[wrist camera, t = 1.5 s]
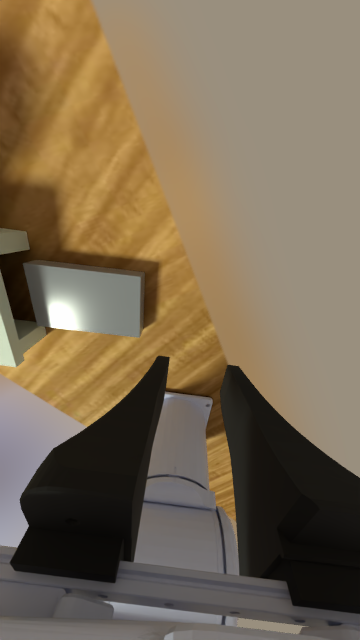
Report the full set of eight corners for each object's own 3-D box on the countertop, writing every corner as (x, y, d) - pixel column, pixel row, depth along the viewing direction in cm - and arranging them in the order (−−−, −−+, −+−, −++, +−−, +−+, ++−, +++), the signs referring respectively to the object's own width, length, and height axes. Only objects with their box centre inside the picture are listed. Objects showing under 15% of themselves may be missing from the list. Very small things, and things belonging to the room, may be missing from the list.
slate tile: (144, 327, 22) (139, 337, 20) (51, 316, 22) (37, 325, 20) (145, 270, 19) (140, 276, 17) (40, 258, 19) (22, 263, 17)
